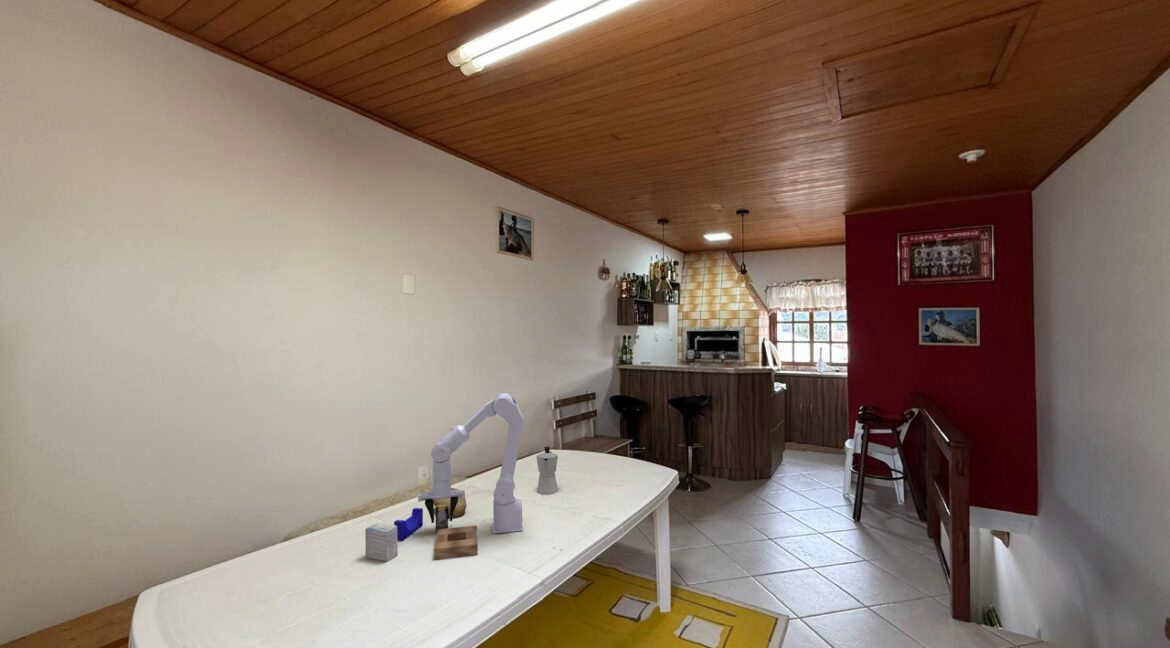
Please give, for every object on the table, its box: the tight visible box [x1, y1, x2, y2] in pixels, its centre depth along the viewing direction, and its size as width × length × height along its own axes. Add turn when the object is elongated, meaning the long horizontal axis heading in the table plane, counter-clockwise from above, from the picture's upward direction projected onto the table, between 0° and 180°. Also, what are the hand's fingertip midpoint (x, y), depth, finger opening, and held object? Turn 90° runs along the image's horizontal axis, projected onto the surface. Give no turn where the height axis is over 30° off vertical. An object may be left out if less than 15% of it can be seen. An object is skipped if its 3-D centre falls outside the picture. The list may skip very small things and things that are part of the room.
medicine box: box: [364, 522, 399, 562], centre depth 136 cm, size 8×4×9 cm, turn 71°
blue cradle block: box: [393, 507, 424, 542], centre depth 152 cm, size 12×4×6 cm, turn 170°
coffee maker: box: [535, 445, 559, 495], centre depth 193 cm, size 15×9×18 cm, turn 179°
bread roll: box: [434, 487, 467, 518], centre depth 170 cm, size 10×15×8 cm, turn 49°
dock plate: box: [433, 525, 479, 561], centre depth 142 cm, size 12×14×3 cm
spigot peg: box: [435, 504, 449, 534], centre depth 153 cm, size 4×4×8 cm
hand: (441, 521), depth 153 cm, fingers open, 5 cm apart
